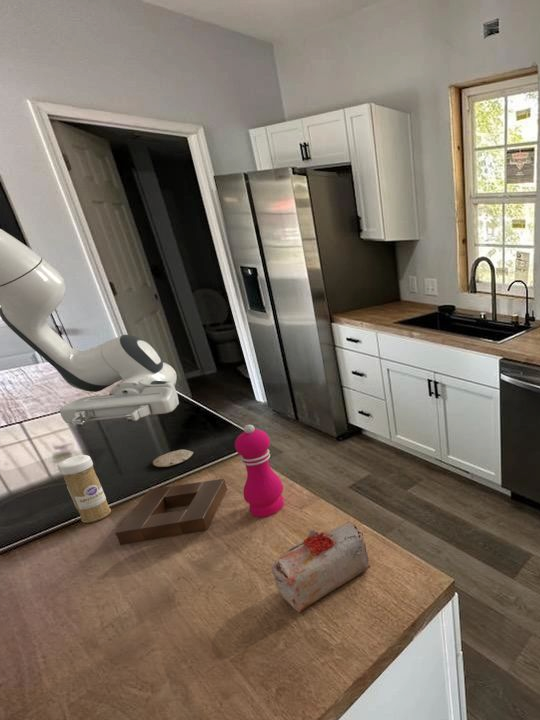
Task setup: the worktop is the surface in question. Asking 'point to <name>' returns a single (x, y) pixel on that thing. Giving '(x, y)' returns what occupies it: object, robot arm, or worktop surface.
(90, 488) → the sprinkles bottle
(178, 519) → the socket block
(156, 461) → the flatbread
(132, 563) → the worktop surface
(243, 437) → the pepper mill
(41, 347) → the robot arm
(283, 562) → the food item
